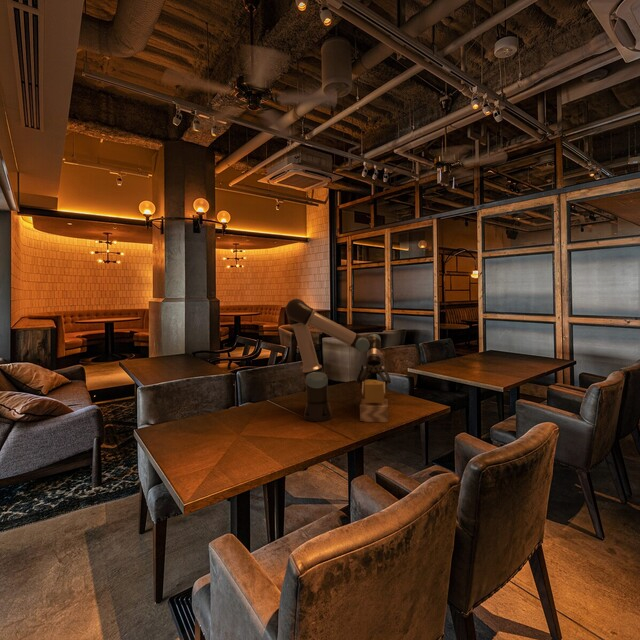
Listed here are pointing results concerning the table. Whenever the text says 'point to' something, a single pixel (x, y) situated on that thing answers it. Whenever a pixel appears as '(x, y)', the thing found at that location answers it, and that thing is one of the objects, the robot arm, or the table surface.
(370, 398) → the cheese
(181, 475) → the table surface
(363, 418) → the chevron patterned block
